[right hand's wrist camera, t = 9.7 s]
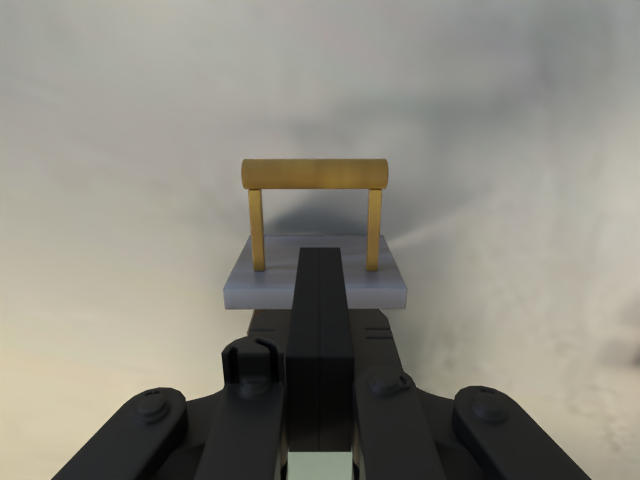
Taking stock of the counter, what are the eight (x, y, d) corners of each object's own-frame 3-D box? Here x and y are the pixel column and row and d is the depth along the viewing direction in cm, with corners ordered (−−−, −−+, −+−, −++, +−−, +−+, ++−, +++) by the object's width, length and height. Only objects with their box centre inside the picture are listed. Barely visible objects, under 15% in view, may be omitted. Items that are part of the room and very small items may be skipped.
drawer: (243, 145, 25) (210, 167, 17) (388, 145, 25) (417, 166, 17) (264, 458, 34) (249, 561, 26) (370, 458, 34) (384, 560, 26)
